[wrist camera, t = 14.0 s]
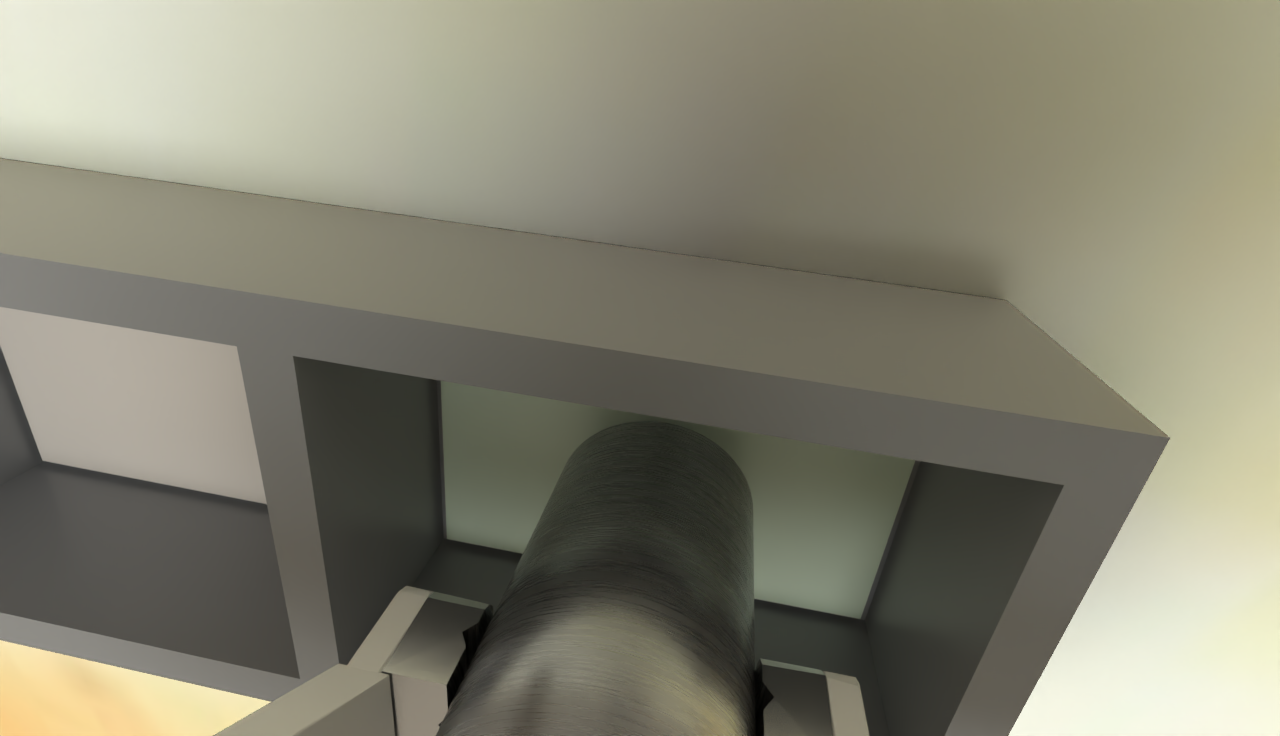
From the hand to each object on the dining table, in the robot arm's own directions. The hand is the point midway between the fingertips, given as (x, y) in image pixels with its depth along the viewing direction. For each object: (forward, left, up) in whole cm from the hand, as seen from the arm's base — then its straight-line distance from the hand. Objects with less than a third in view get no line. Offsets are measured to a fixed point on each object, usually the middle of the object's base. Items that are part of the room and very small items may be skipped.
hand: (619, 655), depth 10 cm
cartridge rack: (0, -6, -7) cm, 10 cm away
